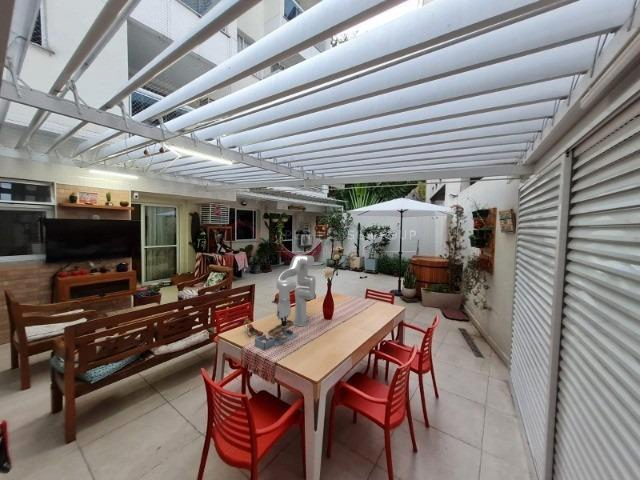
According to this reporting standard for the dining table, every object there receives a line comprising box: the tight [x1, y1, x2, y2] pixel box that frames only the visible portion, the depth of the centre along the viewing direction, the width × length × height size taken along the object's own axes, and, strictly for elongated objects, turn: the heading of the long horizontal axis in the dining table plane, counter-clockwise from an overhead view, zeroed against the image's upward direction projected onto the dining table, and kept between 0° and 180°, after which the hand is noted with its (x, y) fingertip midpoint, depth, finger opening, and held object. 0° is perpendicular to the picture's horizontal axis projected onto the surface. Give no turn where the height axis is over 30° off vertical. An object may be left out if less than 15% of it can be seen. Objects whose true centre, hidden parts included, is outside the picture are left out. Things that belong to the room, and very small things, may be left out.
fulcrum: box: [268, 324, 298, 347], centre depth 189 cm, size 21×12×8 cm, turn 141°
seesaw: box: [267, 319, 294, 340], centre depth 187 cm, size 20×15×3 cm
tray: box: [254, 334, 276, 351], centre depth 178 cm, size 9×11×5 cm
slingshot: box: [243, 317, 264, 338], centre depth 195 cm, size 17×10×15 cm
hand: (283, 325), depth 177 cm, fingers closed
